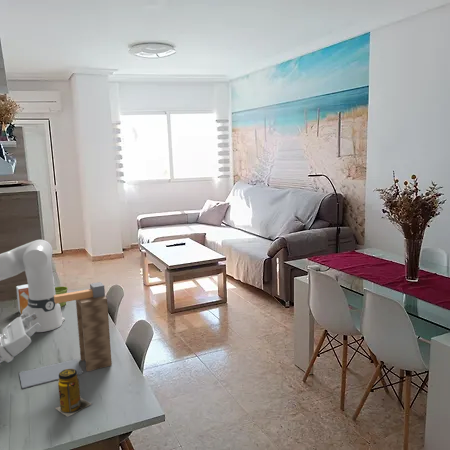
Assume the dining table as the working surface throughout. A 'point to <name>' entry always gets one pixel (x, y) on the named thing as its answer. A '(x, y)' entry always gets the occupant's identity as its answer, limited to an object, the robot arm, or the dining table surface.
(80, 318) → the walnut shelf
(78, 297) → the hammer with orange handle
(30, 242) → the robot arm
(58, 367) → the grey mat
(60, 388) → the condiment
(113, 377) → the dining table surface
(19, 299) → the small box
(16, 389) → the dining table surface
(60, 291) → the plant pot
